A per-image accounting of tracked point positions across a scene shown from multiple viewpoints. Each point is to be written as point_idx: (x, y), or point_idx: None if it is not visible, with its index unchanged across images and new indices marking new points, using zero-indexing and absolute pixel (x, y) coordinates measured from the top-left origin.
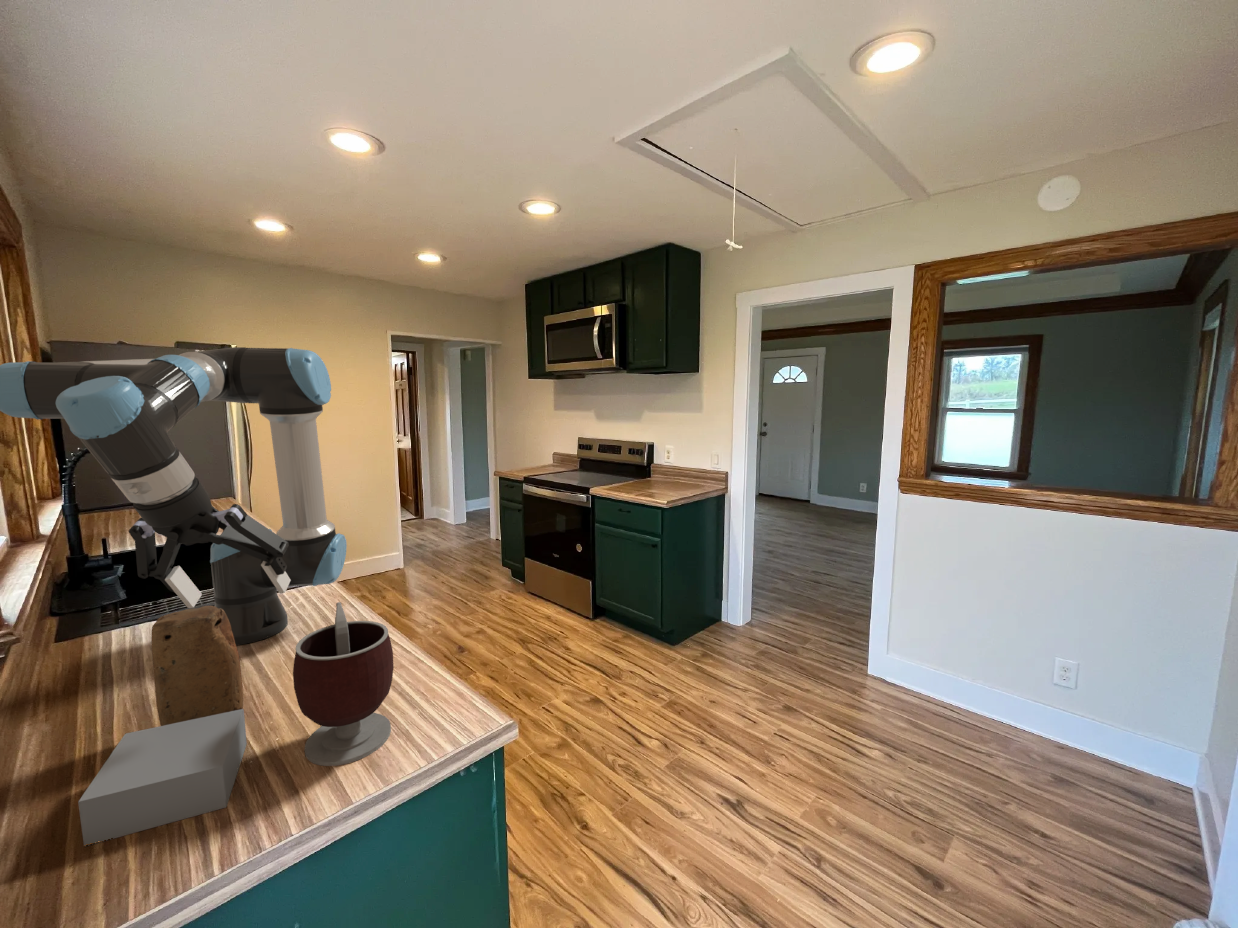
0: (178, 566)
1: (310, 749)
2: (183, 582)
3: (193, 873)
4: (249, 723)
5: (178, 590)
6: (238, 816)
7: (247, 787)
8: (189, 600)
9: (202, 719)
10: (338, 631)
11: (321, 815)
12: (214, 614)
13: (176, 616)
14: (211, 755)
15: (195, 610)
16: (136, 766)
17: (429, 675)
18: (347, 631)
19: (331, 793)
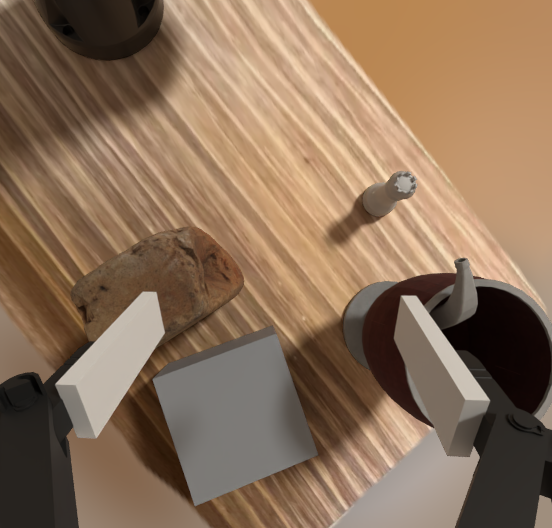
0: (74, 388)
1: (356, 350)
2: (120, 366)
3: (326, 507)
4: (253, 283)
5: (127, 386)
6: (327, 441)
7: (313, 400)
8: (153, 344)
9: (235, 355)
10: (458, 322)
11: (406, 446)
12: (202, 299)
13: (116, 303)
14: (293, 433)
15: (140, 271)
16: (216, 448)
17: (442, 193)
18: (470, 316)
19: (403, 416)
